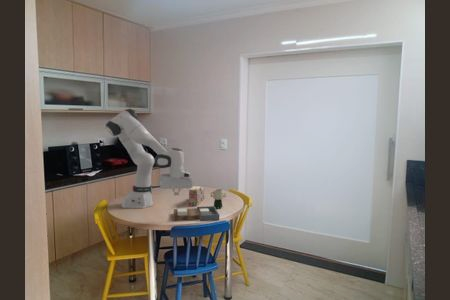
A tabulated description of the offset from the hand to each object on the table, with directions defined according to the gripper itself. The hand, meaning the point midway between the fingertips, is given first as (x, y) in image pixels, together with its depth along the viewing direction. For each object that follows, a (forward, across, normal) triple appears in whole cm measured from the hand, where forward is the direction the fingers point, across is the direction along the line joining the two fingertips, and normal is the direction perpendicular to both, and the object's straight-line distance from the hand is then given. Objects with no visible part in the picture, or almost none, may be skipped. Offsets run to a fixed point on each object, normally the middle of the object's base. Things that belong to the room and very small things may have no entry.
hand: (176, 195), depth 198 cm
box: (+15, +21, +1) cm, 25 cm away
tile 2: (+12, +4, -2) cm, 13 cm away
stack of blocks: (+15, +19, +34) cm, 42 cm away
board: (+15, +7, +1) cm, 16 cm away
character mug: (+15, +32, +17) cm, 39 cm away
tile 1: (+14, +19, +4) cm, 24 cm away
